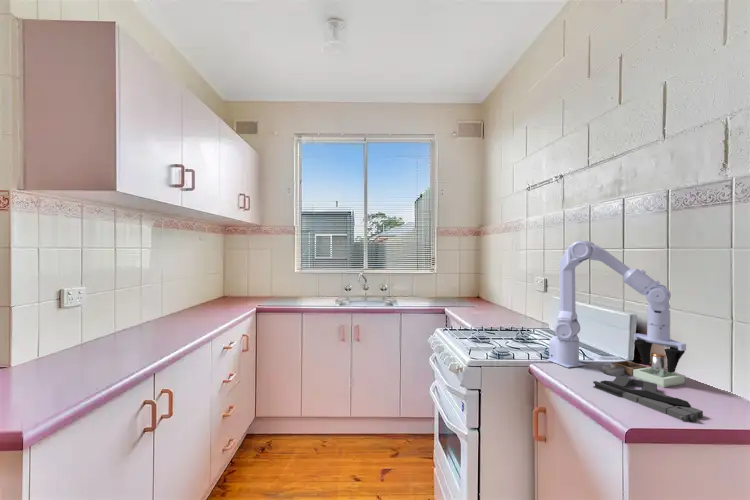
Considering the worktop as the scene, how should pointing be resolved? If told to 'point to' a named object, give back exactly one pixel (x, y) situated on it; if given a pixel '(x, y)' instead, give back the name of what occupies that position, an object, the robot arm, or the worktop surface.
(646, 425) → the worktop surface
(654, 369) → the glass jar
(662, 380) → the tray
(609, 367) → the brown open box
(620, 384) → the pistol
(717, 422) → the worktop surface
